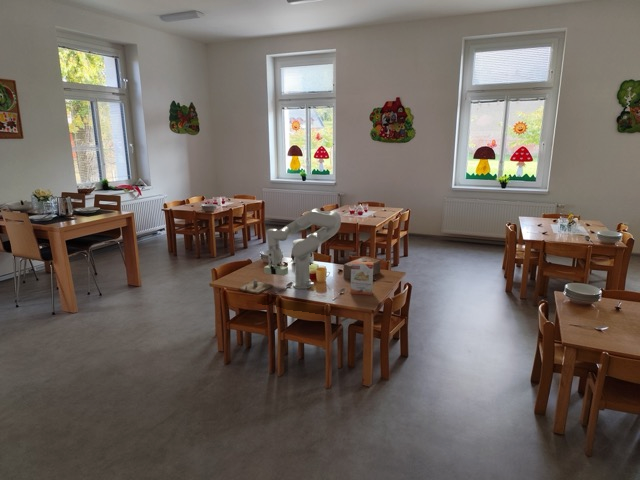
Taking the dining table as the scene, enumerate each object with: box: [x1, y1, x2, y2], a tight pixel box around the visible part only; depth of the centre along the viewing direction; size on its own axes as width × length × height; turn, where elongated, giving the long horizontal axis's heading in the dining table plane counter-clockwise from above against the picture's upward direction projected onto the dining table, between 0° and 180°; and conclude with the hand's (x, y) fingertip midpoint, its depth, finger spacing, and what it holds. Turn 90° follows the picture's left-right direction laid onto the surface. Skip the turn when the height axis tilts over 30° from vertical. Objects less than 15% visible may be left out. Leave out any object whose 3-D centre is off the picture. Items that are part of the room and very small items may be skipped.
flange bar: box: [263, 265, 289, 277], centre depth 288 cm, size 16×5×4 cm, turn 61°
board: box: [238, 279, 273, 295], centre depth 282 cm, size 16×16×6 cm
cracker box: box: [349, 260, 374, 296], centre depth 272 cm, size 14×6×21 cm, turn 80°
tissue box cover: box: [343, 256, 382, 280], centre depth 308 cm, size 26×14×10 cm, turn 139°
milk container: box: [291, 238, 315, 265], centre depth 334 cm, size 17×17×18 cm
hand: (276, 272), depth 289 cm, fingers closed on flange bar, 5 cm apart
